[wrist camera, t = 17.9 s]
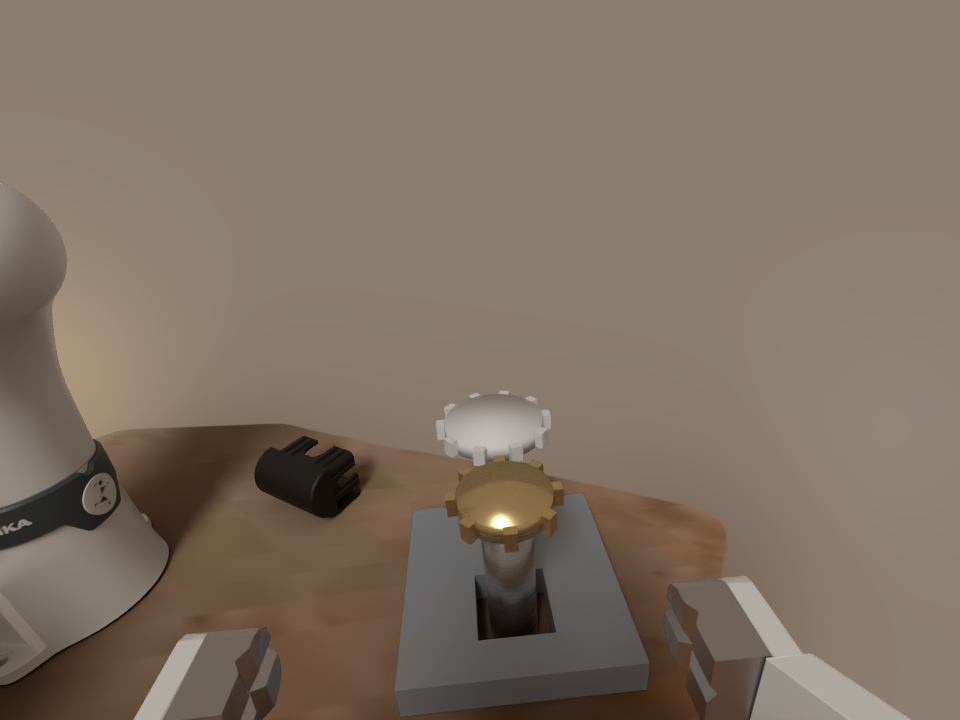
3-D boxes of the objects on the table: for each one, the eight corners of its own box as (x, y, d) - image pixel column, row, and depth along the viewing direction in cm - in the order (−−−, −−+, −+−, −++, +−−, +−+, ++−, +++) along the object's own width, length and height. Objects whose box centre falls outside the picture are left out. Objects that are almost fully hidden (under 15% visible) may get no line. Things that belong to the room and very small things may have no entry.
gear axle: (465, 684, 35) (444, 541, 29) (463, 589, 43) (446, 461, 37) (575, 672, 35) (576, 527, 30) (553, 580, 43) (550, 450, 37)
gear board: (400, 716, 34) (364, 571, 28) (419, 511, 53) (400, 400, 47) (646, 689, 34) (662, 540, 28) (576, 495, 53) (576, 383, 47)
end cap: (263, 507, 56) (246, 461, 53) (309, 472, 61) (297, 429, 59) (320, 534, 51) (305, 485, 48) (365, 494, 57) (354, 448, 54)
